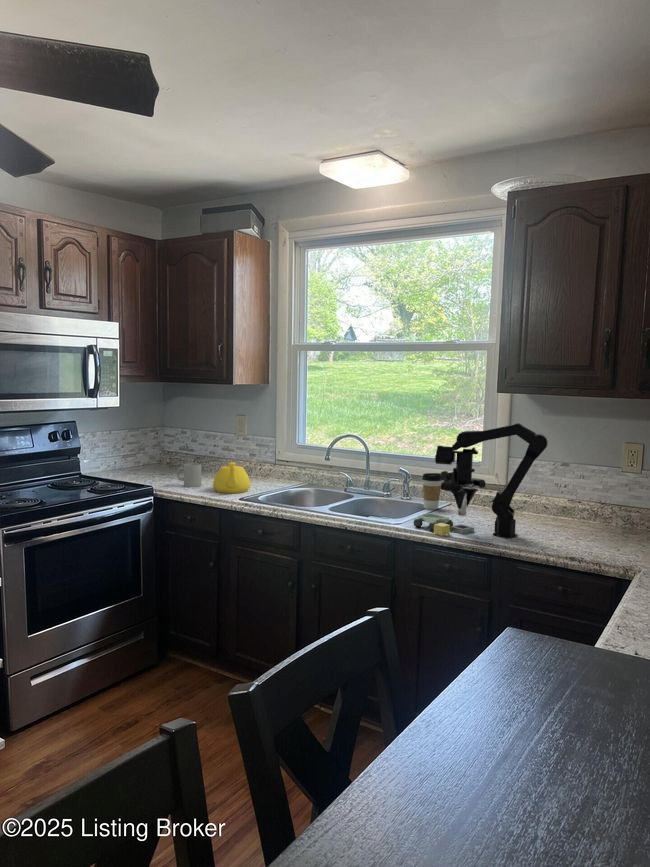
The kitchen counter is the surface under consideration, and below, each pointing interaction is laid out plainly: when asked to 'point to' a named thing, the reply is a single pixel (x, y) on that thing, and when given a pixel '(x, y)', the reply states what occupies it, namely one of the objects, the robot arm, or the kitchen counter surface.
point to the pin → (463, 507)
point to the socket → (462, 529)
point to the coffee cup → (431, 490)
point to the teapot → (231, 479)
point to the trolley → (432, 520)
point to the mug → (191, 474)
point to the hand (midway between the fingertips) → (462, 508)
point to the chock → (441, 529)
